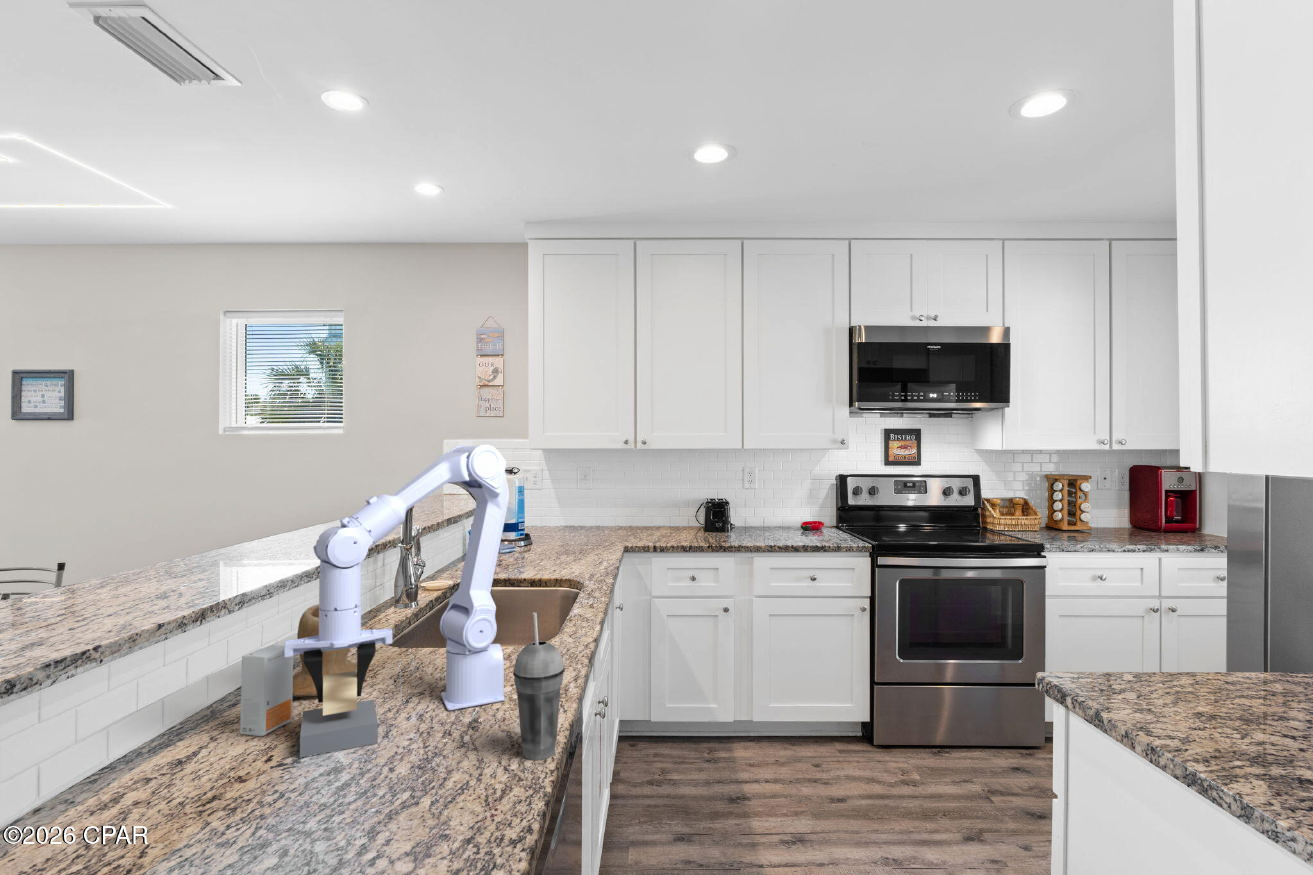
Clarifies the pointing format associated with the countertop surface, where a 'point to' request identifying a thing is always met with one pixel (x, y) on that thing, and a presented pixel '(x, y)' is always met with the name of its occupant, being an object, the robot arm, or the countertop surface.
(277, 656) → the skincare box
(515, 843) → the countertop surface
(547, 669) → the beverage cup
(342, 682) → the maple cube
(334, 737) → the base block
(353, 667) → the stone cup
